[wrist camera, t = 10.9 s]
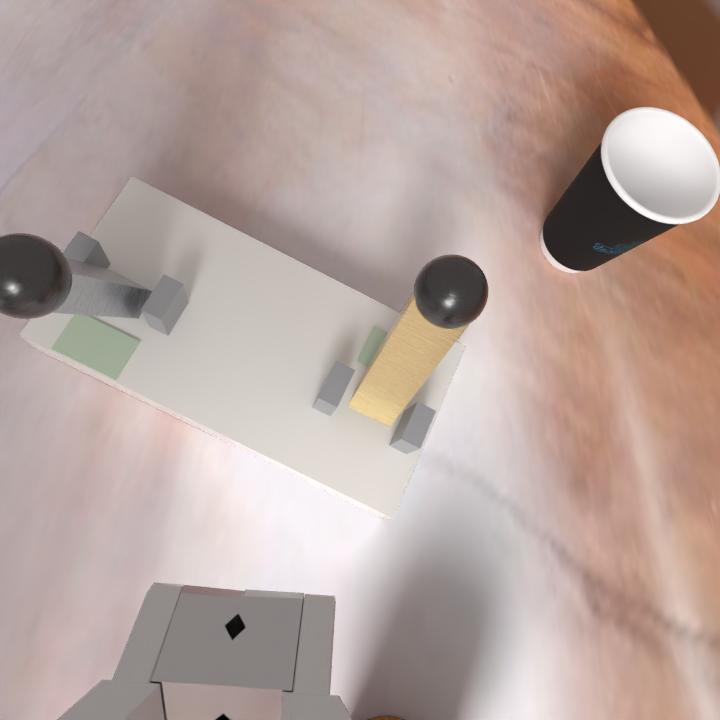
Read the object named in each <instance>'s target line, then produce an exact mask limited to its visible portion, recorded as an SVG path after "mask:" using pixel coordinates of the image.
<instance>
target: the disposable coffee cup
mask: <svg viewBox="0 0 720 720" xmlns="http://www.w3.org/2000/svg"><path fill="white" fill-rule="evenodd" d="M369 720H404V719H402V718H399V717H393V716H379V717H375V718H372V719H369Z"/></svg>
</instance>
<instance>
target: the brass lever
mask: <svg viewBox="0 0 720 720" xmlns="http://www.w3.org/2000/svg"><path fill="white" fill-rule="evenodd" d="M487 298H488V284H487V280H486V277H485V275H484V273H483V271H482V270H481V269H480V267H479V266H478V265H477V264H476V263H474V262H473V261H472V260H470V259H468V258H466V257H463V256H459V255H444V256H440V257H437V258H435V259H433V260H431V261H430V262H429V263H427V264H426V265H425V266H424V267H423V268H422V270H421V271H420V272H419V274H418V276H417V278H416V281H415V284H414V291H413V293H412V294H411V296H410V298H409V299H408V301H407V303H406V304H405V306H404V308H403V309H402V311H401V313H400V314H399V316H398V318H397V319H396V321H395V323H394V324H393V326H392V328H391V329H390V331H389V332H388V334H387V336H386V337H385V339H384V341H383V342H382V344H381V346H380V347H379V349H378V351H377V352H376V354H375V356H374V357H373V359H372V361H371V362H370V364H369V366H368V367H367V369H366V371H365V372H364V374H363V375H362V377H361V379H360V380H359V382H358V384H357V386H356V388H355V390H354V393H353V395H352V397H351V399H350V402H349V404H348V407H350V408H352V409H354V410H356V411H358V412H360V413H362V414H364V415H366V416H368V417H370V418H372V419H374V420H376V421H378V422H380V423H382V424H384V425H386V426H388V427H390V426H391V425H392V424H393V422H394V421H395V420H396V419H397V417H398V416H399V415H400V413H401V412H402V411H403V410H404V408H405V407H406V406H407V404H408V403H409V402H410V400H411V399H412V398H413V397H414V395H415V394H416V393H417V391H418V390H419V389H420V387H421V386H422V385H423V384H424V382H425V381H426V380H427V378H428V377H429V376H430V374H431V373H432V372H433V371H434V369H435V368H436V367H437V365H438V364H439V363H440V361H441V360H442V359H443V358H444V356H445V355H446V354H447V352H448V351H449V350H450V348H451V347H452V346H453V345H454V343H455V342H456V341H457V339H458V338H459V337H460V335H461V334H462V333H463V332H464V330H465V329H466V328H467V326H468V325H469V324H470V323H471V322H473V321H474V320H475V319H476V318H477V317H478V316H479V315H480V314H481V312H482V311H483V309H484V307H485V305H486V302H487Z"/></svg>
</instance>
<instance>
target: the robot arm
mask: <svg viewBox="0 0 720 720" xmlns="http://www.w3.org/2000/svg"><path fill="white" fill-rule="evenodd" d="M335 603H336V602H335V596H328V595H312V594H305V597H304V593H294V592H277V591H259V590H245V591H241V590H230V589H220V588H210V587H200V586H189V585H179V584H166V583H153V585H152V586H151V587H150V589H149V590H148V592H147V594H146V596H145V599H144V601H143V604H142V606H141V609H140V611H139V614H138V616H137V619H136V621H135V624H134V626H133V629H132V631H131V634H130V636H129V639H128V641H127V644H126V646H125V649H124V651H123V654H122V656H121V659H120V661H119V664H118V666H117V669H116V671H115V674H114V676H113V679H112V680H101V681H100V682H99V683H98V684H97V685H96V686H94V687H93V688H92V689H91V690H90V691H89V692H88V693H87V694H85V695H84V696H83V697H82V698H81V699H80V700H79V701H78V702H76V703H75V704H74V705H73V706H72V707H71V708H70V709H69V710H67V711H66V712H65V713H64V714H63V715H62V716H61V717H60V718H58V719H57V720H352V719H351V717H350V715H349V713H348V711H347V710H346V708H345V706H344V704H343V702H342V700H341V698H340V696H335V695H330V684H331V668H332V652H333V635H334V619H335Z"/></svg>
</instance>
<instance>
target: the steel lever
mask: <svg viewBox="0 0 720 720" xmlns="http://www.w3.org/2000/svg"><path fill="white" fill-rule="evenodd" d="M151 293H152V291H151V290H149V289H147V288H145V287H143V286H141V285H139V284H137V283H135V282H133V281H131V280H129V279H127V278H125V277H123V276H121V275H119V274H117V273H115V272H113V271H111V270H109V269H106V268H102V267H99V266H95V265H91V264H88V263H84V262H80V261H77V260H73V259H69V258H66V257H65V256H64V254H63V253H62V252H61V251H60V250H59V249H58V248H57V247H56V246H55V245H53V244H52V243H51V242H49V241H47V240H45V239H43V238H41V237H38V236H35V235H31V234H24V233H16V234H9V235H5V236H2V237H0V313H3V314H5V315H7V316H10V317H14V318H20V319H33V318H39V317H43V316H46V315H48V314H50V313H52V312H53V313H63V314H78V315H93V316H107V317H122V318H137V319H139V317H140V315H141V313H142V311H141V309H142V307H143V306H144V304H145V303H146V301H147V299H148V298H149V296H150V295H151Z"/></svg>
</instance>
